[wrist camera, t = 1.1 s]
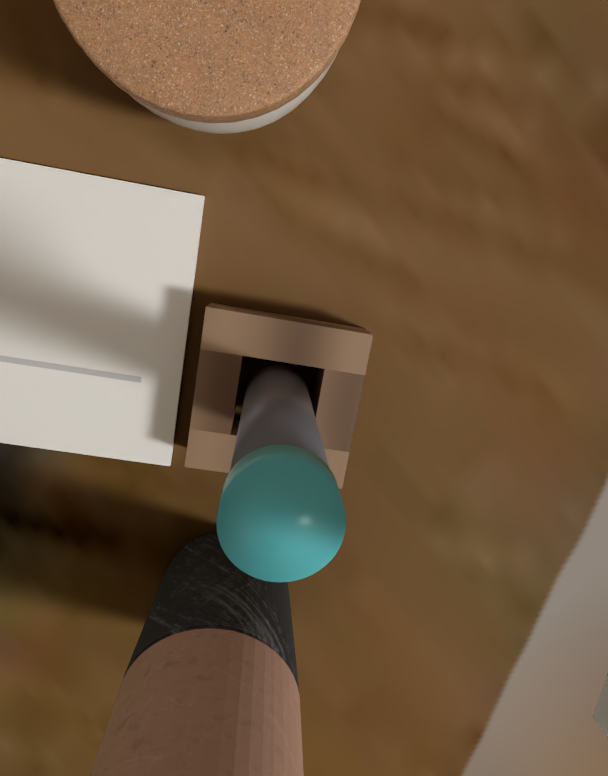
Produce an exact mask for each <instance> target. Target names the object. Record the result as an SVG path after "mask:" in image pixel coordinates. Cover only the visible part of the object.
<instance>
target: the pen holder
mask: <svg viewBox="0 0 608 776" xmlns="http://www.w3.org/2000/svg"><path fill="white" fill-rule="evenodd" d="M372 339H373V334H371V333H370V332H369V331H367V330H366V329H365V328H359V327H353V326H347V325H342V324H336V323H330V322H324V321H318V320H312V319H306V318H300V317H294V316H288V315H282V314H276V313H271V312H265V311H259V310H253V309H247V308H241V307H235V306H229V305H223V304H217V303H210V304H209V305H208V306H206V309H205V316H204V324H203V331H202V339H201V347H200V354H199V362H198V369H197V377H196V384H195V392H194V399H193V407H192V414H191V422H190V430H189V437H188V445H187V452H186V460H185V467H189V468H196V469H203V470H210V471H217V472H225V473H229V472H230V468H231V463H232V458H233V453H234V448H235V443H236V438H237V433H238V428H239V422H240V421H237V420H234V416H235V409H236V403H237V396H238V389H239V383H240V376H241V370H242V363H243V356H248V357H254V358H260V359H266V360H273V361H279V362H285V363H291V364H298V365H304V366H310V367H316V368H319V369H318V374H317V380H316V385H315V391H314V396H313V402H312V407H313V411H314V414H315V418H316V421H317V425H318V429H319V432H320V436H321V440H322V443H323V447H324V451H325V454H326V458H327V461H328V465H329V468H330V470H331V471H332V473H333V474H334V477H335V479H336V482H337V485H338V488H340V489H342V486H343V481H344V477H345V472H346V467H347V462H348V457H349V452H350V447H351V442H352V437H353V432H354V427H355V422H356V418H357V413H358V408H359V403H360V398H361V393H362V388H363V383H364V378H365V373H366V368H367V363H368V359H369V354H370V349H371V344H372Z"/></svg>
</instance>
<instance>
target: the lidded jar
mask: <svg viewBox="0 0 608 776" xmlns="http://www.w3.org/2000/svg"><path fill="white" fill-rule="evenodd" d="M360 1H361V0H53V2H54V4H55V6H56V8H57V11H58V13H59V15H60V17H61V18H62V20H63V22H64V23H65V25H66V27H67V28H68V30H69V32H70V33H71V35H72V37H73V38H74V40H75V41H76V42H77V44H78V45H79V46H80V47H81V49H82V50H83V51H84V52H85V53H86V55H87V56H88V57H89V58H90V60H91V61H92V62H93V63H94V64H95V66H96V67H97V68H98V69H99V70H100V71H102V72H103V73H104V74H105V75H106V76H107V77H108V78H109V79H110V80H111V81H112V82H113V83H114V84H116V85H117V86H118V87H119V88H120V89H122V90H123V91H125V92H126V93H128V94H129V95H130V96H131V97H132V98H133V99H134V100H136V101H137V102H138V103H140V104H141V105H143V106H144V107H146V108H147V109H149V110H150V111H152V112H153V113H154V114H156V115H158V116H160V117H162V118H164V119H166V120H169V121H171V122H173V123H175V124H177V125H179V126H182V127H185V128H189V129H192V130H196V131H199V132H207V133H215V134H226V133H240V132H245V131H249V130H254V129H257V128H260V127H262V126H265V125H267V124H270V123H272V122H275V121H276V120H278V119H280V118H281V117H283V116H284V115H286V114H288V113H289V112H291V111H292V110H293V109H294V108H296V107H297V106H298V105H299V104H300V103H301V102H302V101H304V100H305V99H306V98H307V97H308V96H309V94H310V93H311V92H312V91H313V89H314V88H315V87H316V86H317V85H318V83H319V82H320V81H321V80H322V79H323V77H324V76H325V74H326V73H327V71H328V69H329V68H330V66H331V64H332V63H333V61H334V59H335V58H336V56H337V53H338V51H339V49H340V48H341V46H342V44H343V43H344V41H345V39H346V38H347V35H348V33H349V30H350V28H351V26H352V23H353V21H354V18H355V16H356V13H357V11H358V8H359V5H360Z"/></svg>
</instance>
